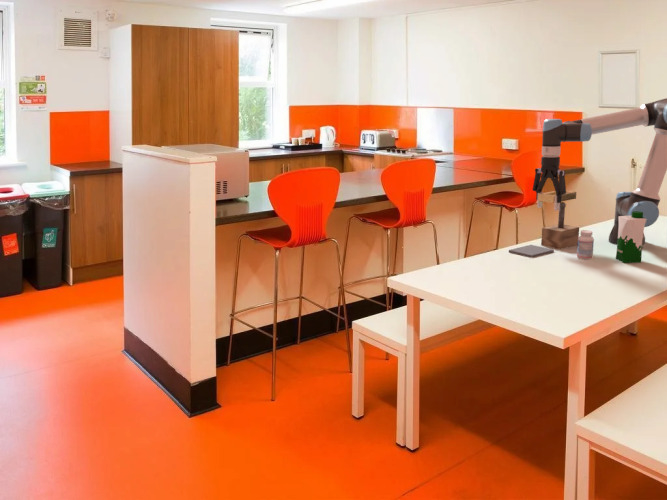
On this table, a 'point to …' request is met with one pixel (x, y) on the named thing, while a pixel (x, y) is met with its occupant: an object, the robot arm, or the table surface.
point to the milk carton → (630, 237)
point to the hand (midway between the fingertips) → (548, 208)
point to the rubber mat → (531, 251)
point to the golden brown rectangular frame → (551, 196)
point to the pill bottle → (585, 245)
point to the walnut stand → (560, 233)
